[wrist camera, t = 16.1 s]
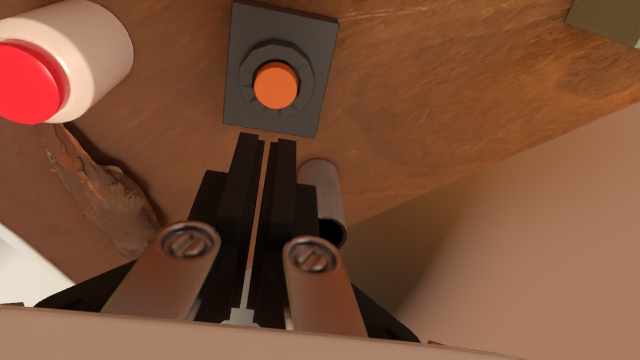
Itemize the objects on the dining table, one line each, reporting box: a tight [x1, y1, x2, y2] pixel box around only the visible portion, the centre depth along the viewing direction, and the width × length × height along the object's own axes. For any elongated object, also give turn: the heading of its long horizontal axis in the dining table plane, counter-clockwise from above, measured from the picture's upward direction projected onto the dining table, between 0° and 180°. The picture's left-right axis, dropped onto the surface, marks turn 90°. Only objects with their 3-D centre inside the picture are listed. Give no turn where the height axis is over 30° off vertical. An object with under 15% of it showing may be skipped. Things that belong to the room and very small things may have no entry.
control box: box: [223, 0, 340, 139], centre depth 36 cm, size 11×9×4 cm
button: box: [254, 62, 297, 109], centre depth 34 cm, size 4×4×2 cm
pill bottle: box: [0, 0, 134, 124], centre depth 31 cm, size 8×8×11 cm
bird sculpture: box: [36, 122, 162, 261], centre depth 42 cm, size 7×25×5 cm, turn 29°
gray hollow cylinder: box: [297, 159, 347, 250], centre depth 40 cm, size 4×4×10 cm
